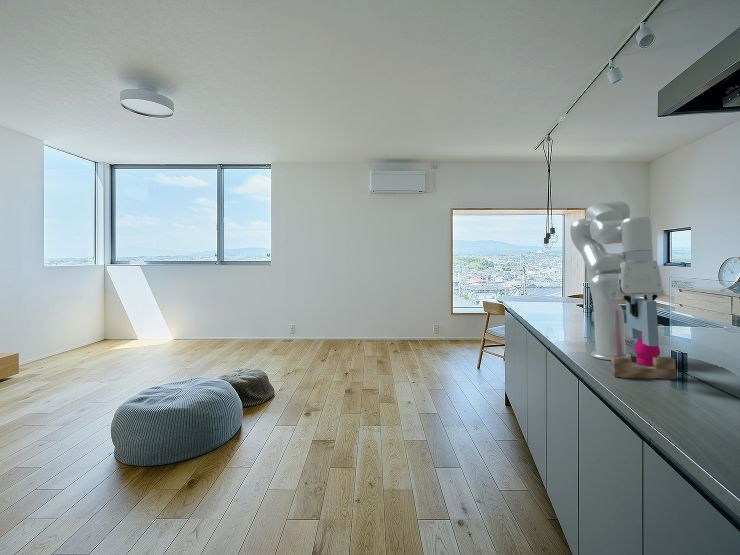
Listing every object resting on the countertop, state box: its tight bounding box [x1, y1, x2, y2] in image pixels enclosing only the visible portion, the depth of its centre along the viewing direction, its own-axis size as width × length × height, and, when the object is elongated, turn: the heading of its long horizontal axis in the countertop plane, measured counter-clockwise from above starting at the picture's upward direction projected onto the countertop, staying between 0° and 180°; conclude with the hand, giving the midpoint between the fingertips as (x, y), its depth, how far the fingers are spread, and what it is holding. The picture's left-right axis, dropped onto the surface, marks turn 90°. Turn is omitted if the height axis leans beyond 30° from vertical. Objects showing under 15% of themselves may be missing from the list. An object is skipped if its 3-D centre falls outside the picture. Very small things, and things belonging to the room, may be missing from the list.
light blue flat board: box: [625, 297, 660, 347], centre depth 112 cm, size 16×2×13 cm, turn 163°
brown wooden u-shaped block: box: [610, 356, 677, 380], centre depth 113 cm, size 16×2×6 cm, turn 73°
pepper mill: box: [633, 331, 661, 367], centre depth 126 cm, size 7×7×20 cm
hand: (640, 315), depth 112 cm, fingers closed on light blue flat board, 2 cm apart
